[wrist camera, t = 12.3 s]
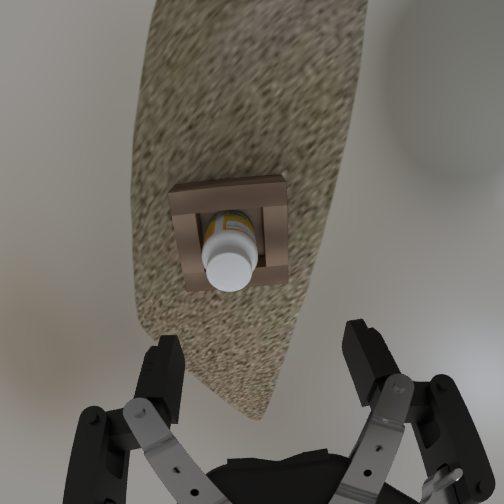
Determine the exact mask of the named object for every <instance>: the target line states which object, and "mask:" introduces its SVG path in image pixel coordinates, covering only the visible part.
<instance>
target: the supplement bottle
mask: <svg viewBox="0 0 504 504" xmlns="http://www.w3.org/2000/svg"><path fill="white" fill-rule="evenodd" d="M257 261H258V251H257V245H256V239H255V233H254V227H253V224H252V221H251V220H250V218H249V217H248V216H247V215H246V214H245V213H243V212H241V211H239V210H225V211H220V212H218V213H217V214H215V215H214V216H213V217H212V219H211V220H210V222H209V224H208V228H207V232H206V237H205V240H204V245H203V249H202V262H203V265H204V268H205V269H206V274H207V278H208V280H209V282H210V283H211V284H212V285H213V286H214V287H215V288H217V289H219V290H221V291H226V292H233V291H237V290H240V289H242V288H243V287H245V286H246V285H247V284H248V283H249V281H250V279H251V276H252V272H253V271H254V269H255V267H256V265H257Z"/></svg>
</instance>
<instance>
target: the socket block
mask: <svg viewBox="0 0 504 504" xmlns="http://www.w3.org/2000/svg"><path fill="white" fill-rule="evenodd" d="M168 197H169V203H170V209H171V215H172V220H173V226H174V231H175V237H176V242H177V247H178V252H179V257H180V261H181V266H182V271H183V275H184V280H185V284H186V289H187V292H190V291H204V290H218V289H217V288H215V287H214V286H213V285H212V284H211V283H210V282H209V280H208V278H207V274H206V269H205V268H204V265H203V262H202V249H203V245H204V240H205V237H206V232H207V228H208V224H209V222H210V220H211V219H212V217H213V216H214V215H215V214H217V213H218V212H220V211H225V210H239V211H241V212H243V213H245V214H246V215H247V216H248V217H249V218H250V220H251V221H252V224H253V227H254V233H255V239H256V245H257V251H258V261H257V265H256V267H255V269H254V271H253V272H252V276H251V279H250V281H249V283H248V284H247V285H246V286H245V287H254V286H265V285H276V284H286V283H288V217H287V185H286V181H285V179H284V178H283V177H282V175H269V176H255V177H243V178H231V179H221V180H211V181H202V182H194V183H185V184H177V185H174V186H173V188H172V189H171V190H170V191H169V192H168Z"/></svg>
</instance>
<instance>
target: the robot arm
mask: <svg viewBox="0 0 504 504" xmlns="http://www.w3.org/2000/svg"><path fill="white" fill-rule="evenodd" d="M342 351H343V355H344V358H345V360H346V363H347V366H348V368H349V371H350V374H351V377H352V380H353V382H354V385H355V388H356V391H357V393H358V396H359V399H360V402H361V405H362V407H364V406H368V405H370V408H371V412H370V414H369V416H368V419H367V421H366V423H365V426H364V428H363V430H362V432H361V434H360V436H359V438H358V440H357V442H356V444H355V446H354V448H353V450H352V451H351V453H350V455H349V457H348V458H347V457H344V456H341V455H337V454H329V453H328V450H327V448H326V449H320V450H315V451H309V452H303V453H301V454H298V455H295V456H292V457H289V458H287V459H284V460H281V461H272V460H264V459H257V458H241V459H240V458H238V459H227V464H226V465H222V466H219V467H217V468H215V469H213V470H211V471H210V472H208V473H207V474H204V472H203V471H202V470H201V469H200V468H199V467H198V465H197V464H196V463H195V462H194V461H193V460H192V458H191V457H190V456H189V454H188V453H187V452H186V451H185V449H184V448H183V447H182V445H181V444H180V443H179V442H178V440H177V439H176V438H175V437H174V435H173V434H172V433H171V431H170V426H171V424H178V419H179V410H180V402H181V394H182V386H183V379H184V371H185V358H184V354H183V351H182V348H181V345H180V342H179V339H178V336H177V335H161V337H160V340H159V344H158V346H151V347H150V349H149V350H148V351H147V352H146V354H145V357H144V361H143V364H142V368H141V372H140V375H139V379H138V383H137V387H136V391H135V395H134V398H133V399H132V400H130V401H129V402H127V403H126V405H125V406H124V408H121V409H117V410H112V411H107V412H105V411H104V410H103V409H102V408H100V407H98V406H90V407H88V408H86V409H84V411H83V412H82V413H81V415H80V418H79V422H78V426H77V430H76V434H75V438H74V442H73V447H72V452H71V456H70V461H69V467H68V473H67V477H66V483H65V490H64V497H63V504H126V490H127V477H128V466H129V457H130V450H132V449H138V448H142V449H143V451H144V455H145V457H146V459H147V460H148V462H149V463H150V465H151V467H152V468H153V470H154V471H155V472H156V474H157V475H158V477H159V478H160V480H161V481H162V482H163V484H164V485H165V487H166V488H167V489H168V491H169V492H170V493H171V495H172V496H173V497H174V499H175V500H176V501H177V502H178V503H177V504H479V503H481V502H483V501H485V500H487V499H488V498H489V497H490V496H491V495H492V493H493V491H494V489H495V478H494V475H493V472H492V469H491V466H490V463H489V460H488V458H487V455H486V452H485V450H484V447H483V444H482V442H481V439H480V437H479V434H478V432H477V430H476V427H475V425H474V423H473V421H472V418H471V416H470V414H469V412H468V409H467V407H466V405H465V403H464V400H463V398H462V397H461V394H460V392H459V390H458V388H457V386H456V384H455V382H454V381H453V379H452V378H451V377H449V376H447V375H444V374H439V375H436V376H434V377H433V378H432V380H431V381H430V382H415V381H412V380H411V379H410V378H409V377H408V376H406V375H404V374H401V372H400V371H399V368H398V367H397V364H396V362H395V360H394V358H393V356H392V355H391V353H390V351H389V350H388V347H387V345H386V343H385V341H384V339H383V338H382V336H381V334H380V333H379V332H378V331H377V330H375V329H374V328H368V327H367V325H366V323H365V322H364V320H363V319H357V320H350V321H347V323H346V327H345V332H344V337H343V341H342ZM404 423H411V425H412V428H413V430H414V433H415V437H416V440H417V443H418V446H419V449H420V452H421V456H422V459H423V462H424V466H425V469H426V473H427V476H428V478H427V479H426V481H425V482H424V484H423V486H422V499H421V501H420V503H418V502H417V501H416V500H414V499H412V498H411V497H409V496H407V495H405V494H404V493H402V492H400V491H399V490H397V489H396V488H394V487H392V486H391V485H389V484H387V483H386V482H385V479H386V477H387V475H388V472H389V470H390V468H391V465H392V463H393V460H394V458H395V455H396V453H397V450H398V448H399V445H400V442H401V439H402V436H403V434H404V430H405V426H404Z"/></svg>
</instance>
